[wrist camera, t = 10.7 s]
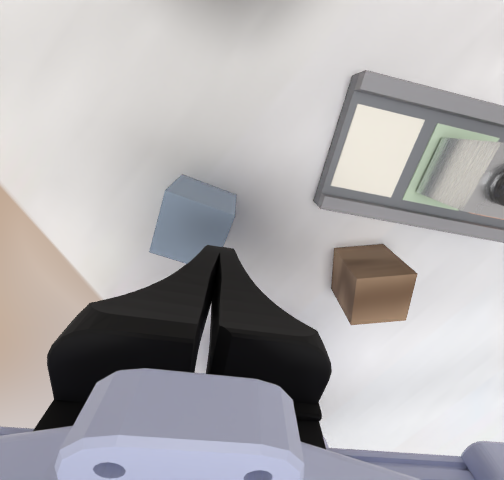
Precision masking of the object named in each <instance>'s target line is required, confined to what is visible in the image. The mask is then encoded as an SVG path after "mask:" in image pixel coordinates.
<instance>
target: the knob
mask: <svg viewBox="0 0 504 480" xmlns="http://www.w3.org/2000/svg"><path fill="white" fill-rule="evenodd" d="M416 192H417V193H419V194H422V195H424V196H427V197H429V198H432V199H434V200H436V201H439V202H441V203H444V204H446V205H449V206H451V207H454V208H456V209H458V210H461V211H465V212H470V213H475V214H480V215H485V216H490V217H495V218H500V219H504V143H503V142H492V141H480V140H468V139H456V138H444V137H442V139H441V141H440V143H439V145H438V147H437V149H436V151H435V154H434V156H433V158H432V160H431V162H430V164H429V166H428V168H427V170H426V172H425V174H424V177H423V179H422V181H421V183H420V185H419V187H418V189H417V191H416Z"/></svg>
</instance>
